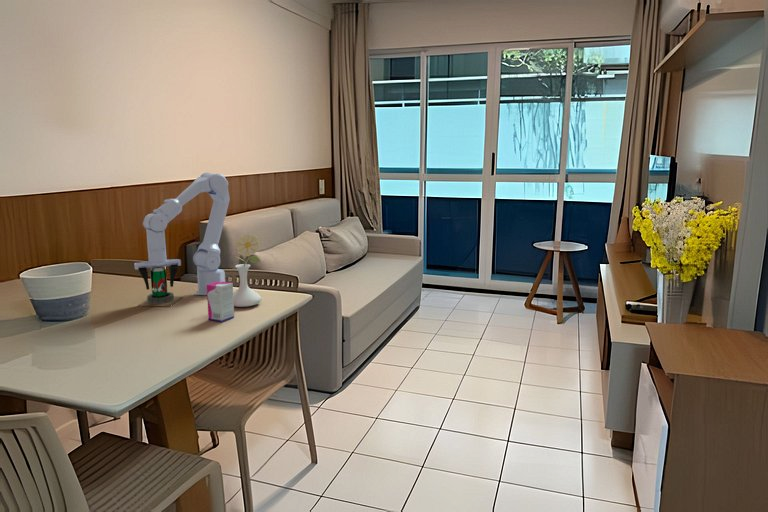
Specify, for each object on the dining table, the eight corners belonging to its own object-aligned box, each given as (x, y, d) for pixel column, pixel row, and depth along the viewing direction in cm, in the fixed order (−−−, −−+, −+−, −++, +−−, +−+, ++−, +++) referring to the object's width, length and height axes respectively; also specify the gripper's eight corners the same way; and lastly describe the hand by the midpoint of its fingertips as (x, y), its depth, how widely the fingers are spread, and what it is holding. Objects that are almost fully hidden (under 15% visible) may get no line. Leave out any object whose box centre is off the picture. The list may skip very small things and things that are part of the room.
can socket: (182, 297, 188) (182, 291, 188) (170, 306, 178) (169, 299, 177) (152, 297, 188) (151, 290, 188) (137, 306, 178) (137, 299, 177)
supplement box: (235, 317, 167) (233, 282, 165) (222, 322, 162) (220, 286, 160) (220, 314, 170) (219, 280, 167) (207, 320, 164) (205, 284, 162)
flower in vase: (220, 307, 178) (216, 234, 173) (241, 298, 188) (237, 229, 183) (252, 311, 173) (249, 236, 168) (272, 302, 183) (269, 232, 178)
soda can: (170, 298, 185) (167, 265, 183) (165, 302, 180) (162, 268, 178) (155, 298, 185) (153, 265, 183) (150, 302, 180) (147, 268, 178)
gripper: (134, 252, 172) (138, 292, 175) (181, 249, 179) (183, 287, 182) (132, 249, 178) (136, 288, 181) (177, 245, 185) (180, 283, 188)
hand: (159, 287), depth 182 cm, fingers open, 7 cm apart
